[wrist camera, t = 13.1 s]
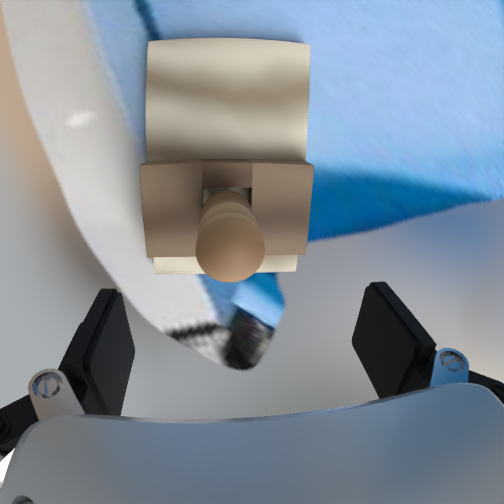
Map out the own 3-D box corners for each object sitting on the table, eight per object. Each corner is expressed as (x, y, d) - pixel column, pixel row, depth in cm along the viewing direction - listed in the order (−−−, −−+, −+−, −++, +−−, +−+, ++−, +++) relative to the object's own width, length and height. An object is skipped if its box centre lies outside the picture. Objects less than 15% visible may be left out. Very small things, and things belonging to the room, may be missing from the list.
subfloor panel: (151, 44, 21) (141, 34, 18) (306, 47, 23) (319, 38, 19) (157, 268, 30) (151, 287, 27) (293, 265, 32) (302, 283, 29)
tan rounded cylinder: (202, 181, 26) (194, 219, 17) (248, 181, 26) (266, 218, 17) (203, 224, 28) (197, 282, 18) (246, 224, 28) (263, 281, 19)
